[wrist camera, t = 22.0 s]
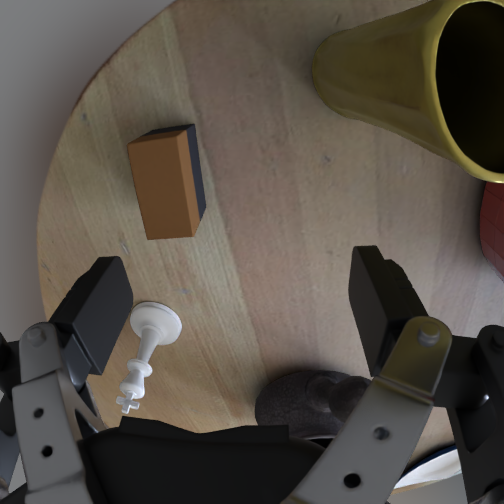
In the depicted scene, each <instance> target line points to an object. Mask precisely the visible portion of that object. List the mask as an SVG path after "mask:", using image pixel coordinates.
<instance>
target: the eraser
mask: <svg viewBox="0 0 504 504" xmlns="http://www.w3.org/2000/svg"><path fill="white" fill-rule="evenodd" d="M127 149H128V155H129V160H130V165H131V170H132V175H133V180H134V184H135V189H136V194H137V198H138V203H139V207H140V211H141V216H142V220H143V224H144V228H145V232H146V236H147V239H148V240H154V239H168V238H183V237H194V235H195V233H196V230H197V228H198V225H199V223H200V221H201V218H202V216H203V214H204V211H205V209H206V202H205V195H204V188H203V181H202V174H201V167H200V160H199V153H198V145H197V138H196V130H195V124H189V125H182V126H175V127H168V128H162V129H155V130H152V131H150V132H148V133H146V134H144V135H142V136H140V137H139V138H137V139H135V140H133V141H131V142H130V143H128V144H127Z"/></svg>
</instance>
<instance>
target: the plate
mask: <svg viewBox="0 0 504 504" xmlns="http://www.w3.org/2000/svg"><path fill="white" fill-rule="evenodd" d="M460 469H461V465H460V460H459V456H458V452H457V447H456V445H453V446H451V447H448V448H445V449H442V450H440V451H438V452H436V453H434V454H432V455H431V456H429V457H427V458H425V459H424V460H422V461H421V462H419V463H417V464H416V465H414V466H413V467H412V468H411V469H410V470H409V471H407V472H406V473H405V474H403V475H402V476H401V477H400V478H399V480H398V482H397V484H396V485H395V487H394V489H395V488H399V487H403V486H406V485H411V484H416V483H421V482H426V481H431V480H438V479H445V478H449V477H451V476H452V475H453V474H455V473H456V472H457V471H458V470H460Z"/></svg>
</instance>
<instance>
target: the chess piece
mask: <svg viewBox="0 0 504 504" xmlns="http://www.w3.org/2000/svg"><path fill="white" fill-rule="evenodd" d="M130 324H131V327H132V329H133V331H134V332H135V333H136V334H137V335H138V336H139V337H140V338H141V340H140V345H139V350H138V354H137V358H136V359H130V360H129V361H128V362H127V367H128V370H129V371H130V373H129V374H128V376H127V377H126V378H125V379H124V380H123V381H122V382H121V384H120V386H119V387H120V390H121V391H122V393H124V394H125V395H126V398H123V397H120V396H117V399H116V403H117V404H120V405H123V407H122V412H123V413H126V414H128V411H129V408H133V409H137V410H138V407H139V402H136V401H132V399H133V398H135V399H138V398H142V397H143V396H144V378H143V377H148V376H149V375H150V374H151V373H152V368H151V366H150V365H149V364H148V361H149V359H150V357H151V355H152V353H153V351H154V349H155V347H156V345H167V344H170V343H173V342H174V341H175V340H176V339H177V338H178V337H179V334H180V333H181V330H182V324H181V321H180V319H179V317H178V316H177V314H176V313H175V312H174V311H173V310H171V309H170V308H168V307H167V306H165V305H162V304H160V303H156V302H143V303H140V304H138V305H136V306H135V307H134V308H133V310H132V313H131V317H130Z"/></svg>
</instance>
